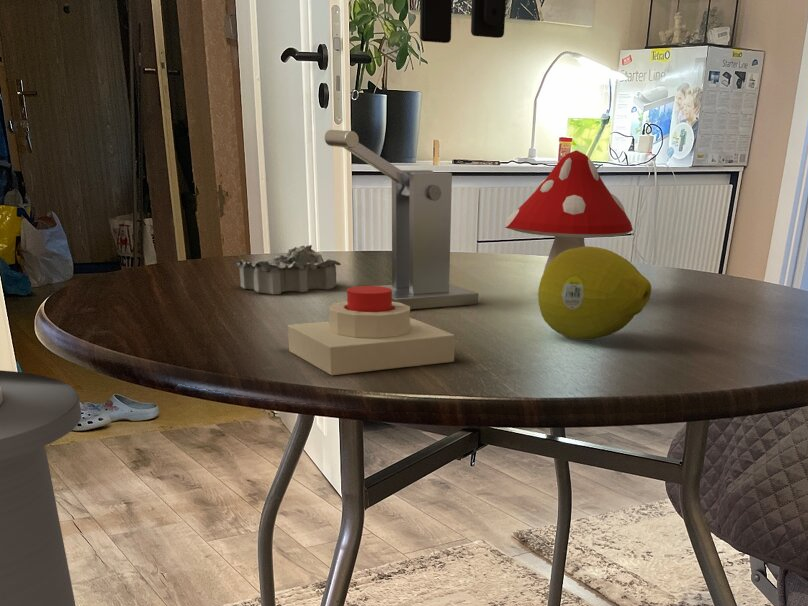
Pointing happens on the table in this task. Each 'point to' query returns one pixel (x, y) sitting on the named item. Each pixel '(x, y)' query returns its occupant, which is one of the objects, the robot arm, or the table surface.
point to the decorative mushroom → (571, 207)
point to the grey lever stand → (424, 244)
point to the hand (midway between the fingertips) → (460, 39)
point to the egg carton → (289, 272)
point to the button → (369, 299)
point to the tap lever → (368, 156)
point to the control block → (369, 341)
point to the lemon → (591, 293)
